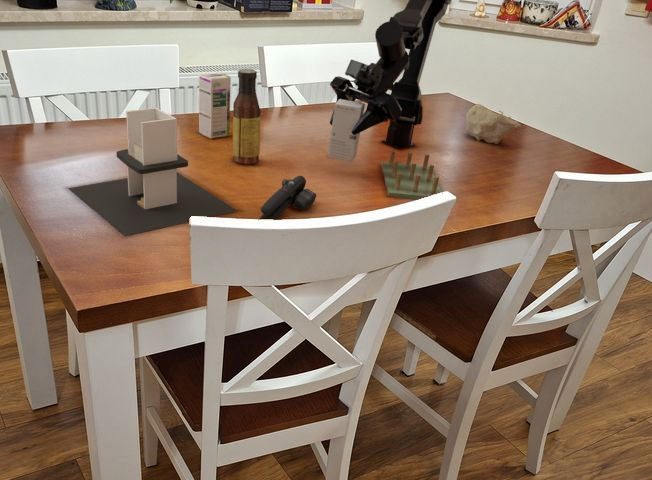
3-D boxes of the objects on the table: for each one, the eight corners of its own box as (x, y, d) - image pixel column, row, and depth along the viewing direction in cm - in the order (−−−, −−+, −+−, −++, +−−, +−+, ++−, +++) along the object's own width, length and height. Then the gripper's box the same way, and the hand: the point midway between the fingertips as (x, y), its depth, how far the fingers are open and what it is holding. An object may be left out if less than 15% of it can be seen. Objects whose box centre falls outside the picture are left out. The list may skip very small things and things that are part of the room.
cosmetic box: (326, 158, 148) (333, 103, 140) (331, 152, 151) (338, 98, 144) (353, 162, 146) (361, 107, 139) (357, 156, 150) (365, 102, 143)
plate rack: (380, 165, 157) (384, 147, 154) (430, 170, 157) (434, 151, 154) (387, 196, 140) (391, 176, 138) (443, 202, 140) (448, 181, 138)
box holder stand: (67, 188, 131) (58, 103, 121) (173, 170, 144) (173, 92, 134) (125, 236, 115) (119, 143, 106) (238, 210, 128) (242, 126, 119)
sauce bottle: (263, 160, 153) (269, 71, 142) (250, 167, 148) (255, 75, 137) (239, 154, 155) (243, 65, 144) (226, 161, 151) (229, 70, 139)
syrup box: (211, 139, 163) (212, 78, 155) (198, 132, 167) (198, 72, 159) (229, 136, 166) (231, 76, 158) (216, 129, 170) (217, 71, 162)
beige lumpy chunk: (456, 137, 189) (458, 112, 174) (472, 117, 188) (475, 91, 174) (499, 166, 185) (505, 143, 170) (516, 145, 184) (523, 121, 170)
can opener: (290, 195, 137) (292, 168, 134) (319, 203, 134) (322, 177, 131) (244, 221, 124) (246, 193, 121) (276, 231, 121) (278, 203, 118)
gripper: (341, 37, 143) (297, 94, 144) (402, 55, 131) (354, 117, 132) (362, 72, 152) (320, 125, 152) (421, 92, 140) (376, 150, 141)
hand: (341, 128), depth 144 cm, fingers closed on cosmetic box, 7 cm apart
